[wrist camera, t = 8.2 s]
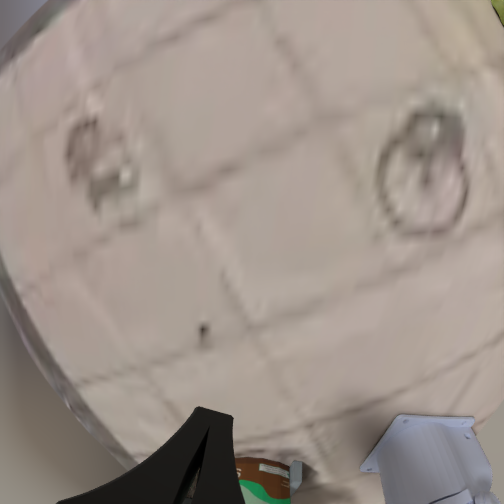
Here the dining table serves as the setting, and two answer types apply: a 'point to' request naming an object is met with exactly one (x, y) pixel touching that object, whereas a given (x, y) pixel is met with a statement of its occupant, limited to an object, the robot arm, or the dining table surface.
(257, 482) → the food container
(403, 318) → the dining table surface
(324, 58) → the dining table surface
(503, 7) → the plant pot
